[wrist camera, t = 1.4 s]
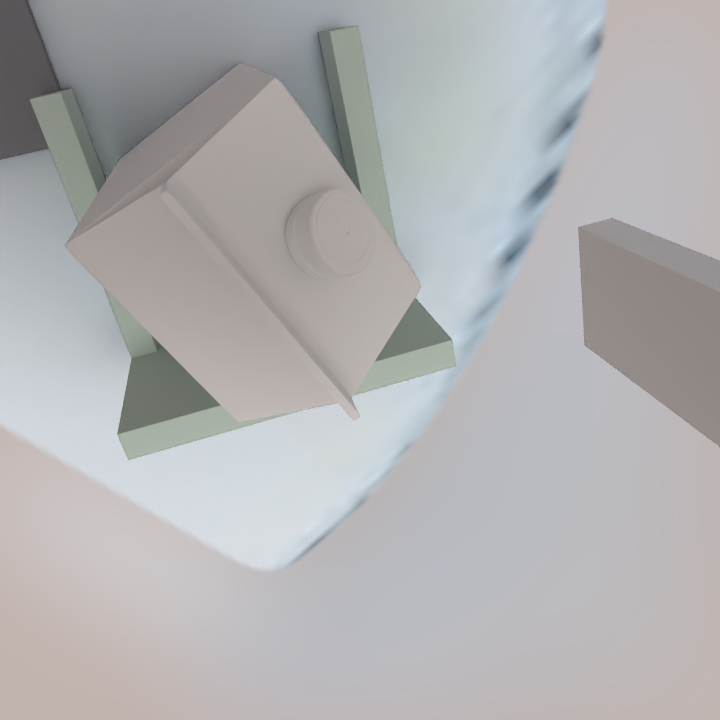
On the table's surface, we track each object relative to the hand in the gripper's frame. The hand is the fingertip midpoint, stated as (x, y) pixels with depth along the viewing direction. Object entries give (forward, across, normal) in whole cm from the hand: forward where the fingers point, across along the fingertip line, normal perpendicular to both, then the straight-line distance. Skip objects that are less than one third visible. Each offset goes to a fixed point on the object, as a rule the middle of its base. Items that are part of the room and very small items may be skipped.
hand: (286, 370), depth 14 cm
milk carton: (+21, 0, 0) cm, 21 cm away
